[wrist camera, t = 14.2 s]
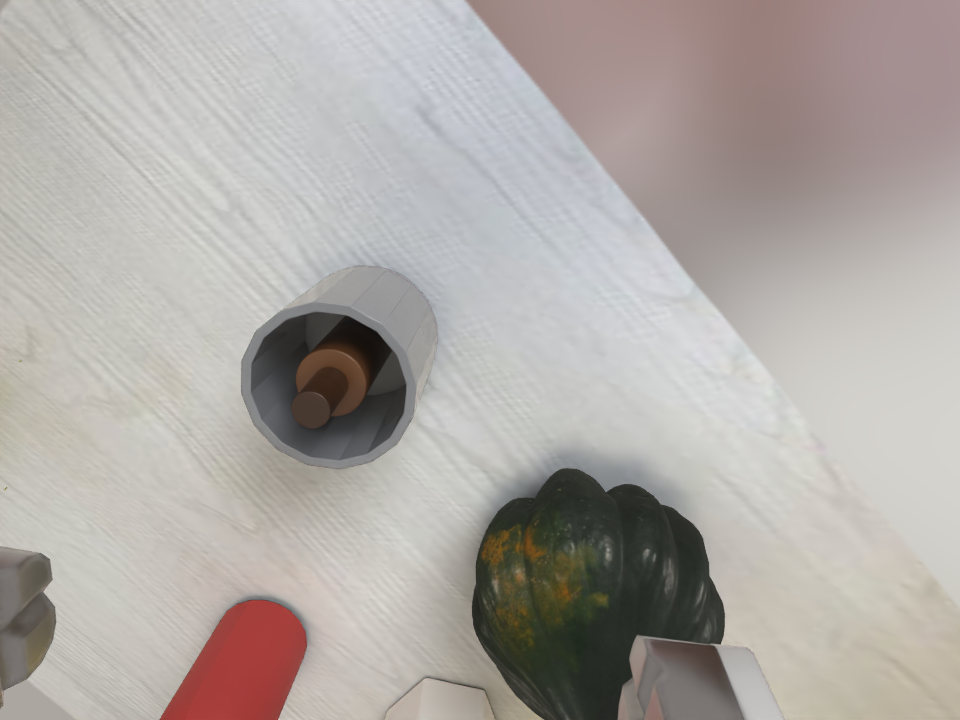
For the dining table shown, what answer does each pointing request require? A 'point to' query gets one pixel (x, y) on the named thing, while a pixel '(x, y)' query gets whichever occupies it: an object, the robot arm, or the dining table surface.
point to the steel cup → (296, 333)
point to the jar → (441, 703)
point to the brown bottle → (338, 373)
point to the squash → (587, 592)
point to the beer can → (243, 666)
